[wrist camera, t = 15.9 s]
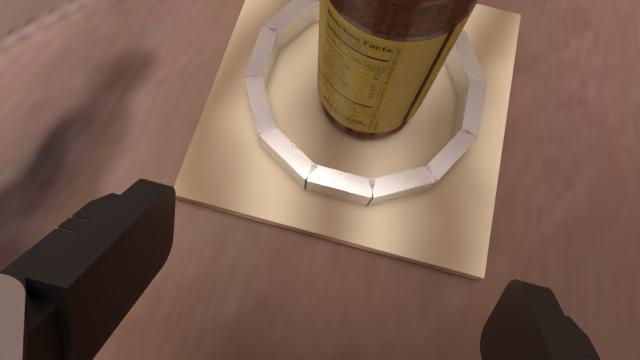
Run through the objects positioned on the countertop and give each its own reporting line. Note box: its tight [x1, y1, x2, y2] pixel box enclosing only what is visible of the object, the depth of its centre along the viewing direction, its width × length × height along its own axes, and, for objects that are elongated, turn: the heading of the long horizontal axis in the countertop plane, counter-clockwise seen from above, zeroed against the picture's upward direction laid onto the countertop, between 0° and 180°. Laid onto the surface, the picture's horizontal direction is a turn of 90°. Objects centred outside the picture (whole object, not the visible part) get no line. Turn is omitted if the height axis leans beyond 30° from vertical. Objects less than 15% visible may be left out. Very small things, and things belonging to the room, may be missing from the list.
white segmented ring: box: [244, 0, 487, 206], centre depth 25 cm, size 14×14×3 cm
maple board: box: [174, 0, 521, 280], centre depth 27 cm, size 18×18×1 cm
